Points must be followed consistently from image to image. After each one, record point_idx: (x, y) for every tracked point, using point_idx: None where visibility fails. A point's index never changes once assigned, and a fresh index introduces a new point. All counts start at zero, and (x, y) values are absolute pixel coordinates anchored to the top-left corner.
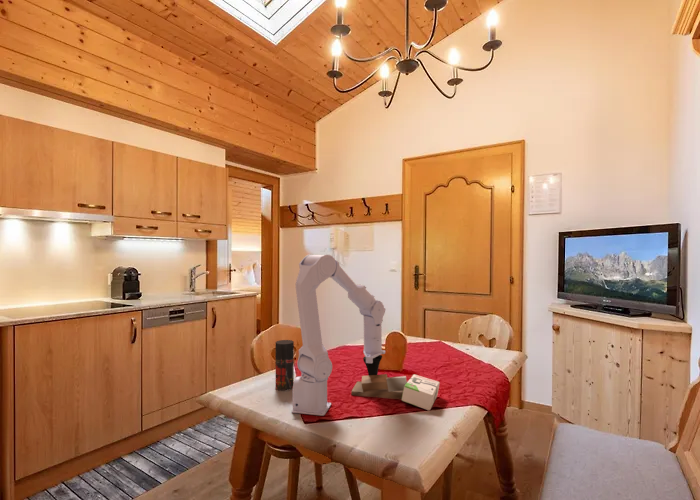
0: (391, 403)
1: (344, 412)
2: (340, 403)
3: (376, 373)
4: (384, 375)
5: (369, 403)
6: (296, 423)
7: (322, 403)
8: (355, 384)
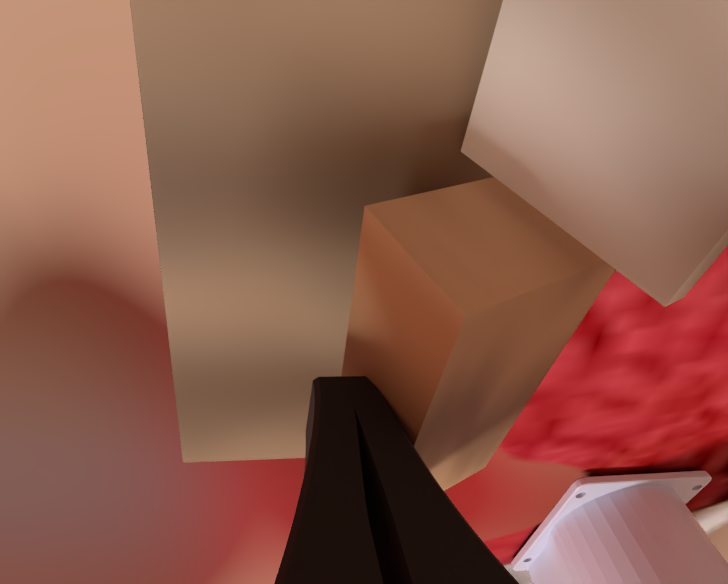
0: None
1: (701, 406)
2: (564, 445)
3: (415, 455)
4: (482, 338)
5: (618, 298)
6: (720, 515)
7: (702, 529)
8: (274, 458)
